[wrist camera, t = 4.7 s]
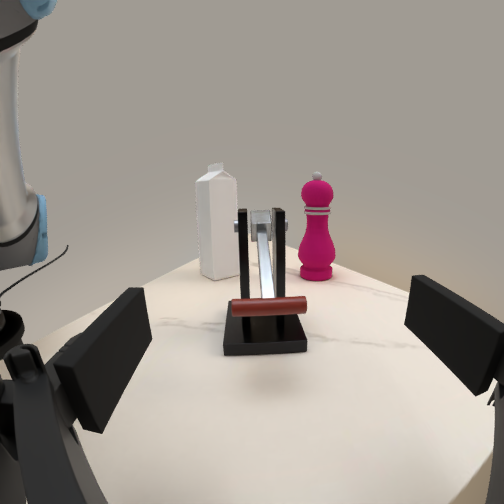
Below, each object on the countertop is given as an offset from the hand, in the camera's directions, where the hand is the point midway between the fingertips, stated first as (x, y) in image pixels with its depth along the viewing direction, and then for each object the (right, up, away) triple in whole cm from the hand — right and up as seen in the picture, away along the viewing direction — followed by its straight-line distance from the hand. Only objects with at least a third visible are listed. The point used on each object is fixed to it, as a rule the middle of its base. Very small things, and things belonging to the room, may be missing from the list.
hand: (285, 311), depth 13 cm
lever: (0, +1, +16) cm, 16 cm away
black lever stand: (0, -7, +23) cm, 24 cm away
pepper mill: (+11, -2, +43) cm, 44 cm away
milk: (-8, -2, +45) cm, 46 cm away
